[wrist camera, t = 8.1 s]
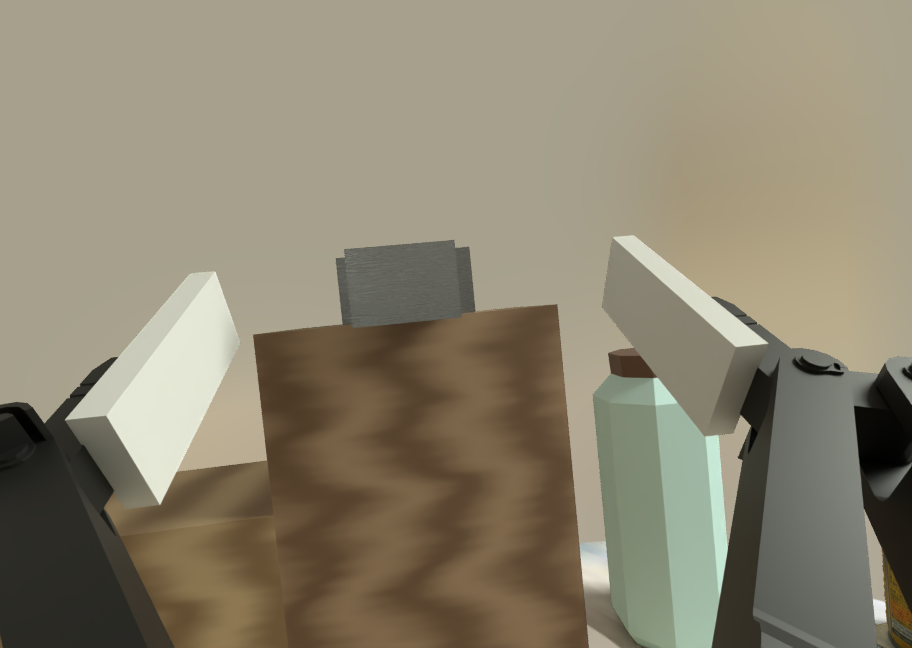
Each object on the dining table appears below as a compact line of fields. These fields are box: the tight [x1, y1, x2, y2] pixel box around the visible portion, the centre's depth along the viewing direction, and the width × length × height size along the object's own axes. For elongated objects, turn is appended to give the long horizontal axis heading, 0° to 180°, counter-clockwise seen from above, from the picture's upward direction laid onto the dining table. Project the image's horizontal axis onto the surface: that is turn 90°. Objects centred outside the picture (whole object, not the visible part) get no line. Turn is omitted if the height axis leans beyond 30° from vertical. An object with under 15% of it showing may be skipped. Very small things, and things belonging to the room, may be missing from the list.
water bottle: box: [593, 348, 728, 648], centre depth 41 cm, size 10×10×25 cm
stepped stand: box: [0, 305, 589, 648], centre depth 31 cm, size 32×11×30 cm, turn 96°
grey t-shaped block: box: [336, 240, 475, 328], centre depth 25 cm, size 8×21×4 cm, turn 6°
